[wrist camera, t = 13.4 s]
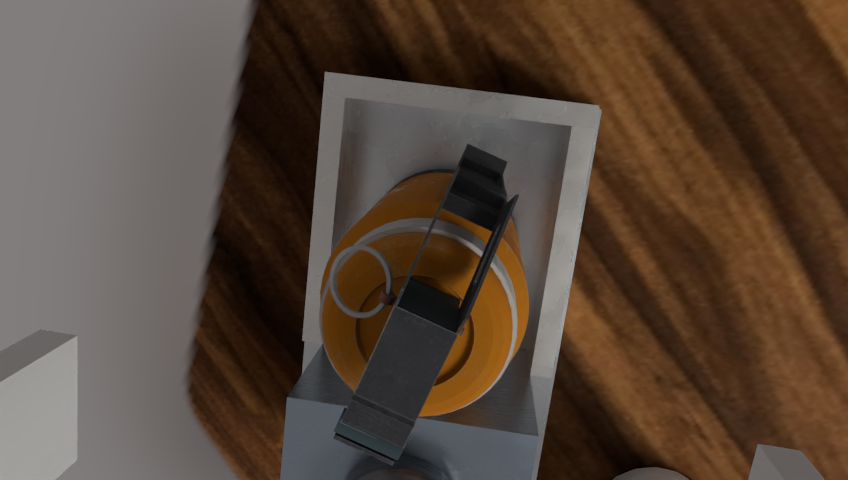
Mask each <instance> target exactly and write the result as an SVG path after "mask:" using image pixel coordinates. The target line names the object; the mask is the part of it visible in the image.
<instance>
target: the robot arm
mask: <svg viewBox="0 0 848 480" xmlns="http://www.w3.org/2000/svg"><path fill="white" fill-rule="evenodd" d="M76 460H77V335H70V334H64V333H58V332H52V331H45V330H39V331H37V332H35V333H33V334H32V335H30V336H28V337H26V338H24V339H22V340H21V341H19V342H17V343H15V344H13V345H11V346H9V347H8V348H6V349H4V350H2V351H0V480H55V479H56V478H57V477H59V476H60V475H61V474H62V473H63V472H64V471H65V470H66V469H67V468H69V467H70V466H71V465H72V464H73V463H74V462H75V461H76ZM748 480H825V479H824V478H823V477H822V476H821V475H820V473H819V472H818V471H817V470H816V469H815V467H814V466H813V465H812V464H811V463H810V461H809V460H808V459H807V458H806V457H805V455H804V454H803V453H802V452H801V451H799V450H793V449H786V448H780V447H774V446H768V445H761V444H758V445H757V449H756V453H755V457H754V460H753V464H752V468H751V472H750V475H749V479H748Z"/></svg>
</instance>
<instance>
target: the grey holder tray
mask: <svg viewBox="0 0 848 480" xmlns="http://www.w3.org/2000/svg"><path fill="white" fill-rule="evenodd" d="M601 111H602V109H599V106H598V105H591V104H583V103H575V102H567V101H559V100H551V99H543V98H535V97H527V96H518V95H510V94H502V93H494V92H486V91H478V90H470V89H462V88H454V87H446V86H438V85H430V84H422V83H413V82H405V81H397V80H389V79H381V78H373V77H365V76H357V75H349V74H341V73H332V72H325V76H324V88H323V100H322V112H321V123H320V135H319V147H318V159H317V171H316V183H315V194H314V206H313V218H312V230H311V242H310V253H309V265H308V277H307V289H306V301H305V312H304V324H303V336H302V341H305V343H304V355H303V367H302V375H301V377H300V378H299V380H298V381H297V383H296V384H295V386H294V387H293V389H292V390H291V392H290V393H289V395H288V396H287V403H286V415H285V428H284V440H283V453H282V465H281V477H280V480H536V479H537V473H538V468H539V462H540V456H541V451H542V445H543V440H544V434H545V428H546V423H547V417H548V411H549V406H550V400H551V394H552V389H553V383H554V377H555V372H556V366H557V360H558V355H559V349H560V343H561V338H562V332H563V326H564V321H565V315H566V309H567V304H568V298H569V292H570V287H571V281H572V275H573V270H574V264H575V259H576V253H577V247H578V242H579V236H580V230H581V225H582V219H583V213H584V208H585V202H586V196H587V191H588V185H589V179H590V174H591V168H592V162H593V157H594V151H595V145H596V140H597V134H598V128H599V123H600V117H601ZM467 143H468V144H470V145H472V146H474V147H476V148H479V149H481V150H483V151H485V152H487V153H489V154H492V155H494V156H496V157H498V158H500V159H503V160H505V161H507V165H506V168H505V170H504V173H503V177H504V184H505V190H506V191H507V197H508V199H507V202H508V201H509V200H511V199H512V198H513V197H514V196H515V195H516V194H519V197H518V200H517V202H516V204H515V207H514V209H513V212H512V216H513V218H514V221H515V225H516V229H517V233H518V239H519V244H520V249H521V255H522V260H523V265H524V271H525V276H526V282H527V287H528V296H529V314H528V322H527V326H526V331H525V335H524V337H523V340H522V342H521V344H520V347H519V349H518V351H517V352H516V354H515V356H514V357H513V359H512V360H511V362H510V363H509V364H508V366H507V368H506V370H505V371H504V373H503V374H502V376H501V378H500V379H499V380H498V381H497V382H496V384H495V385H494V386H493V387H492V388H491V389H490V390H489V391H488V392H487V393H485V394H484V395H483V396H482V397H481V398H479V399H478V400H476V401H474V402H473V403H471V404H469V405H468V406H466V407H463V408H461V409H458V410H456V411H453V412H450V413H445V414H441V415H435V416H423V417H418V418H417V420H416V423H415V425H414V428H413V430H412V432H411V434H410V436H409V438H408V440H407V442H406V444H405V447H404V449H403V452H402V454H401V456H400V458H399V459H398V461H397V460H394V463H393V465H390V464H388V463H385V462H383V461H381V460H379V459H377V458H375V457H372V456H370V455H368V454H366V453H364V452H361V451H359V450H357V449H355V448H353V447H350V446H348V445H346V444H344V443H342V442H339V441H337V440H335V439H333V438H334V435H335V433H336V432H334V429H335V427H336V425H337V423H338V421H339V418H340V416H341V414H342V412H343V410H344V407H345V408H347V407H348V405H349V403H350V400H351V398H352V396H353V394H354V391H353V390H352V389H351V388H350V387H349V386H348V385H347V384H346V383H345V382H344V381H343V380H342V379H341V377H340V376H339V375H338V373H337V372H336V371H335V369H334V368H333V366H332V364H331V362H330V360H329V358H328V356H327V354H326V351H325V348H324V345H323V342H322V338H321V332H320V327H319V310H320V290H321V284H322V277H323V274H324V271H325V268H326V265H327V262H328V260H329V258H330V256H331V254H332V252H333V250H334V248H335V247H336V246H337V244H338V243H339V242H340V240H341V239H342V238H343V236H344V235H345V234H346V233H347V232H348V231H349V230H350V229H351V228H352V227H353V226H354V225H355V224H356V223H357V222H358V221H359V220H360V219H361V218H362V217H363V216H364V215H365V214H366V213H367V212H368V211H369V210H370V209H371V208H372V207H373V206H374V205H375V204H376V203H377V202H378V201H379V200H380V199H381V198H382V197H384V196H385V195H386V194H387V193H388V192H389V191H390V190H391V189H392V188H393V187H394V186H395V185H396V184H398V183H399V182H401V181H402V180H404V179H405V178H407V177H410V176H412V175H414V174H416V173H420V172H423V171H427V170H435V169H451V170H456V167H457V165H458V163H459V161H460V159H461V157H462V154H463V152H464V150H465V148H466V146H467Z"/></svg>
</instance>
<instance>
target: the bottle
mask: <svg viewBox="0 0 848 480" xmlns="http://www.w3.org/2000/svg"><path fill="white" fill-rule="evenodd" d="M613 480H690V479H688V478H686V477H685V476H683V475H682V474H680V473H678V472H676V471H672V470H668V469H663V468H659V467H650V468H637V469H633V470H631V471H628V472H626V473H624V474H621V475H619V476H616V477H615V478H614V479H613Z"/></svg>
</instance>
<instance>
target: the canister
mask: <svg viewBox="0 0 848 480" xmlns="http://www.w3.org/2000/svg"><path fill="white" fill-rule="evenodd" d="M506 165H507V161H505V160H503V159H500V158H498V157H496V156H494V155H492V154H489V153H487V152H485V151H483V150H481V149H479V148H476V147H474V146H472V145H470V144H468V143H467V146H466V148H465V150H464V152H463V154H462V157H461V159H460V161H459V163H458V165H457V167H456V170H451V169H435V170H427V171H423V172H420V173H416V174H414V175H412V176H410V177H407V178H405V179H404V180H402V181H401V182H399V183H398V184H396V185H395V186H394V187H393V188H392V189H391V190H390V191H389V192H388V193H387V194H386V195H385V196H384V197H382V198H381V199H380V200H379V201H378V202H377V203H376V204H375V205H374V206H373V207H372V208H371V209H370V210H369V211H368V212H367V213H366V214H365V215H364V216H363V217H362V218H361V219H360V220H359V221H358V222H357V223H356V224H355V225H354V226H353V227H352V228H351V229H350V230H349V231H348V232H347V233H346V234H345V235H344V236H343V238H342V239H341V240H340V242H339V243H338V244H337V246H336V247H335V248H334V250H333V252H332V254H331V256H330V258H329V260H328V262H327V265H326V268H325V271H324V274H323V277H322V284H321V290H320V310H319V327H320V332H321V338H322V342H323V345H324V348H325V351H326V354H327V356H328V358H329V360H330V362H331V364H332V366H333V368H334V369H335V371H336V372H337V373H338V375H339V376H340V377H341V379H342V380H343V381H344V382H345V383H346V384H347V385H348V386H349V387H350V388H351V389H352V390H353V391H354V394H353V396H352V398H351V400H350V403H349V405H348V407H347V408H345V407H344V410H343V412H342V414H341V416H340V418H339V421H338V423H337V425H336V427H335V429H334V432H336V433H335V435H334V438H333V439H335V440H337V441H339V442H342V443H344V444H346V445H348V446H350V447H353V448H355V449H357V450H359V451H361V452H364V453H366V454H368V455H370V456H372V457H375V458H377V459H379V460H381V461H383V462H385V463H388V464H390V465H393V463H394V460H397V461H398V459H399V458H400V456H401V454H402V452H403V449H404V447H405V444H406V442H407V440H408V438H409V436H410V434H411V432H412V430H413V428H414V425H415V423H416V420H417V418H418V417H423V416H435V415H441V414H445V413H450V412H453V411H456V410H458V409H461V408H463V407H466V406H468V405H469V404H471V403H473V402H474V401H476V400H478V399H479V398H481V397H482V396H483V395H484V394H485V393H487V392H488V391H489V390H490V389H491V388H492V387H493V386H494V385H495V384H496V382H497V381H498V380H499V379H500V378H501V376H502V374H503V373H504V371H505V370H506V368H507V366H508V364H509V363H510V362H511V360H512V359H513V357H514V356H515V354H516V352H517V351H518V349H519V347H520V344H521V342H522V340H523V337H524V335H525V331H526V326H527V322H528V314H529V296H528V287H527V282H526V276H525V271H524V265H523V260H522V255H521V249H520V244H519V239H518V233H517V229H516V225H515V221H514V218H513V216H512V212H513V209H514V207H515V204H516V202H517V200H518V197H519V194H516V195H515V196H514V197H513V198H512V199H511V200H509V201H508V202H507V199H508V197H507V191H506V190H505V184H504V177H503V173H504V170H505V168H506Z"/></svg>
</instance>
